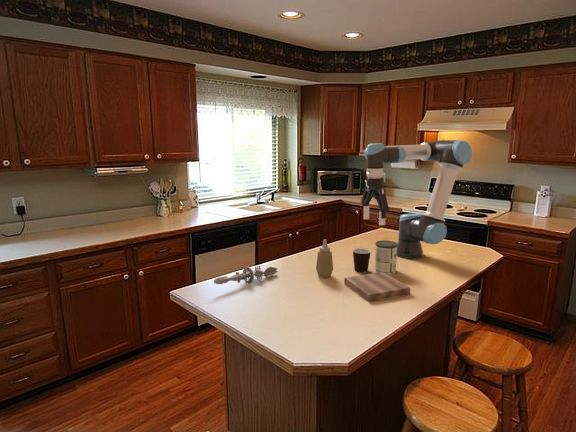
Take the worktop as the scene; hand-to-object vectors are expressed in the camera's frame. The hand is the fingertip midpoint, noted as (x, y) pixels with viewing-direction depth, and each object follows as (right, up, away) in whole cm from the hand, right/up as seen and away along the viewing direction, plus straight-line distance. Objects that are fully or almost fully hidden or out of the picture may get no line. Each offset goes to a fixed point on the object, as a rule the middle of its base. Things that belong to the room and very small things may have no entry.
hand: (374, 222), depth 179 cm
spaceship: (-59, -28, -9) cm, 66 cm away
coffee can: (+7, -24, +6) cm, 26 cm away
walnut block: (-3, -29, -16) cm, 33 cm away
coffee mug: (-6, -24, +6) cm, 26 cm away
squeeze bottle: (-24, -26, -1) cm, 35 cm away
